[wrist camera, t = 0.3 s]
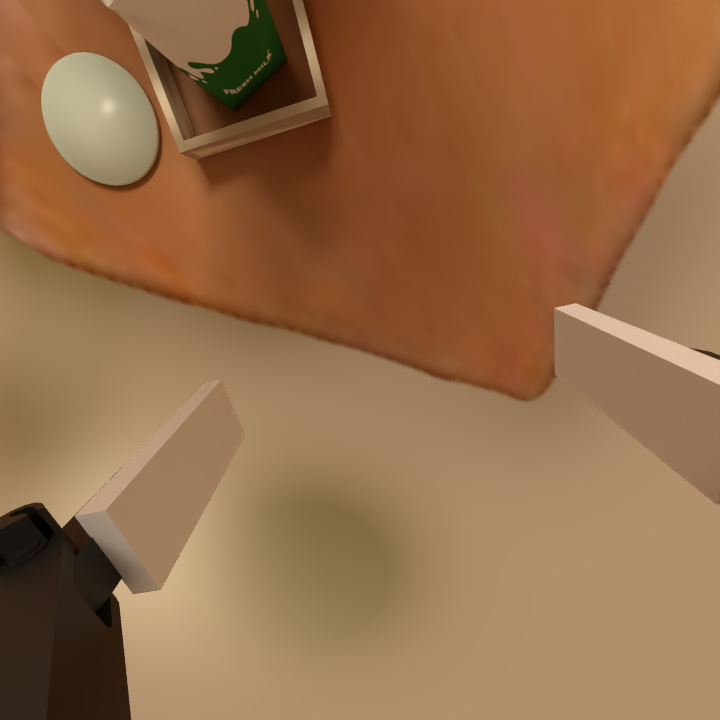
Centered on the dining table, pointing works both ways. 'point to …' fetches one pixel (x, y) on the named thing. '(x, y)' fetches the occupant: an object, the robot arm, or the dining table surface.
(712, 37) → the dining table surface
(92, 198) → the dining table surface
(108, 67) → the pale green disc
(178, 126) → the dock
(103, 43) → the dining table surface
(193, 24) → the soya milk
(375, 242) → the dining table surface
